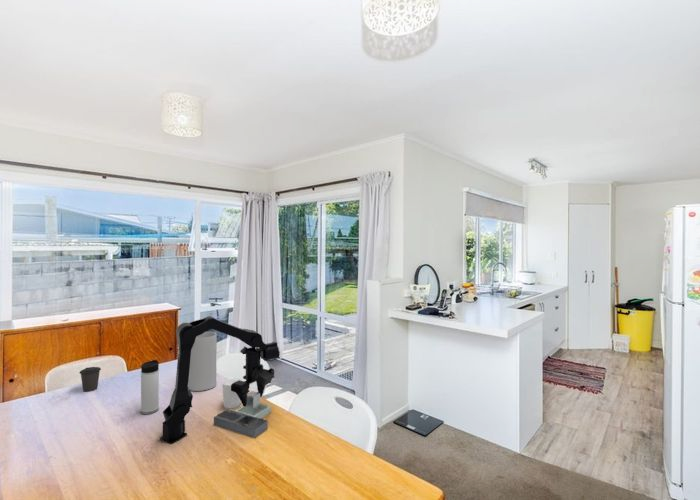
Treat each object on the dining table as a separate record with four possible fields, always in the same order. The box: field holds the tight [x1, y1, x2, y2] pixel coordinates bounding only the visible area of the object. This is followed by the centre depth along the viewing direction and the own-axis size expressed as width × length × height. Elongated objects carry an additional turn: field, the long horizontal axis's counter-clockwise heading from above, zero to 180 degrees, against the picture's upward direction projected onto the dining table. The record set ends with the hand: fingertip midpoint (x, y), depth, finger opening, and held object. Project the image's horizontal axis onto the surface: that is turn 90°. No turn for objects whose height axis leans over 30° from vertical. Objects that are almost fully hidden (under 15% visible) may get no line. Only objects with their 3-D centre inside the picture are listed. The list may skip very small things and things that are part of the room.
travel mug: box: [140, 359, 160, 415], centre depth 141 cm, size 6×7×20 cm
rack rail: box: [213, 408, 269, 439], centre depth 129 cm, size 7×20×3 cm, turn 64°
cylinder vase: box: [188, 331, 218, 392], centre depth 166 cm, size 12×12×25 cm
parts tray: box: [235, 402, 272, 419], centre depth 138 cm, size 10×10×3 cm
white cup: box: [222, 377, 243, 409], centre depth 147 cm, size 8×8×10 cm
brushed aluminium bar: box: [245, 390, 261, 416], centre depth 138 cm, size 4×4×8 cm
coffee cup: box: [78, 366, 102, 393], centre depth 162 cm, size 8×8×10 cm
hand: (252, 401), depth 138 cm, fingers open, 9 cm apart
